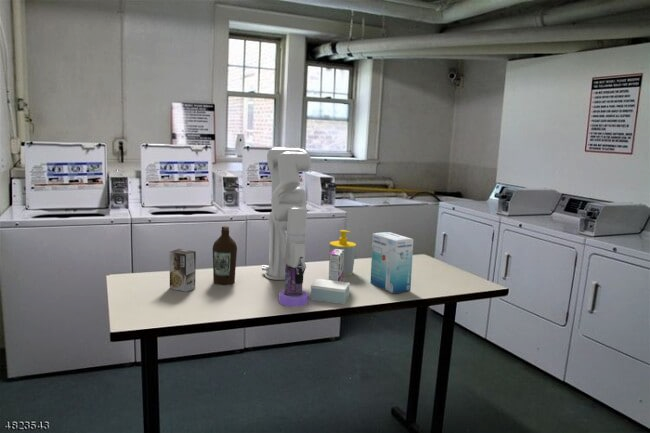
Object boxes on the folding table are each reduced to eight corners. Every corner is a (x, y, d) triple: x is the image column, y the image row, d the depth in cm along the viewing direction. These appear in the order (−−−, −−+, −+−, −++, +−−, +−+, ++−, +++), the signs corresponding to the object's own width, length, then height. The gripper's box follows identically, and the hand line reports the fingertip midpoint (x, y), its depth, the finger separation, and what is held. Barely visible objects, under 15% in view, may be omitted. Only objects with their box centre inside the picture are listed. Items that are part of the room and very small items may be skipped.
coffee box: (196, 288, 216) (196, 251, 214) (186, 292, 210) (186, 254, 208) (179, 284, 220) (179, 248, 217) (168, 288, 214) (168, 250, 212)
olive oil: (215, 277, 233) (216, 223, 228) (238, 279, 232) (240, 225, 228) (208, 284, 222) (209, 228, 218) (232, 286, 222) (234, 229, 217)
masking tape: (274, 299, 210) (275, 290, 209) (301, 296, 214) (301, 287, 214) (284, 308, 199) (284, 299, 198) (311, 305, 204) (312, 296, 203)
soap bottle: (354, 277, 246) (357, 234, 243) (327, 275, 246) (330, 232, 243) (353, 269, 259) (356, 228, 256) (328, 268, 259) (330, 227, 256)
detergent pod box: (310, 299, 210) (311, 285, 209) (316, 292, 220) (317, 278, 219) (343, 304, 207) (344, 289, 206) (348, 296, 216) (349, 282, 215)
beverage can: (284, 290, 209) (285, 261, 207) (301, 290, 210) (302, 262, 208) (284, 295, 203) (285, 266, 200) (302, 295, 203) (303, 266, 201)
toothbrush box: (368, 283, 237) (372, 232, 233) (386, 280, 243) (390, 231, 239) (392, 294, 222) (396, 240, 218) (410, 291, 228) (415, 239, 224)
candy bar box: (332, 283, 234) (334, 248, 231) (342, 284, 233) (344, 249, 230) (327, 290, 223) (329, 253, 221) (338, 291, 222) (340, 255, 220)
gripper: (278, 233, 208) (276, 275, 211) (298, 243, 193) (295, 287, 196) (294, 232, 212) (292, 273, 214) (315, 241, 197) (312, 285, 200)
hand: (294, 280), depth 205 cm, fingers open, 7 cm apart
